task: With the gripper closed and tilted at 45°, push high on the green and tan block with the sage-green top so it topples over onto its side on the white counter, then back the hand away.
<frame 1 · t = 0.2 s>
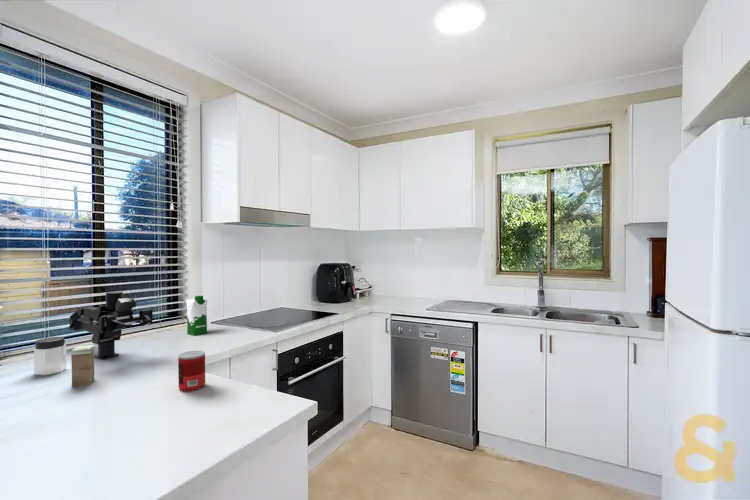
hand: (138, 323, 143), 16 cm above the worktop, tool horizontal, fingers open, 9 cm apart
milk carton: (197, 334, 196), on the worktop
canned food: (192, 387, 122), on the worktop
jar: (50, 372, 137), on the worktop
green and tan block: (83, 383, 126), on the worktop
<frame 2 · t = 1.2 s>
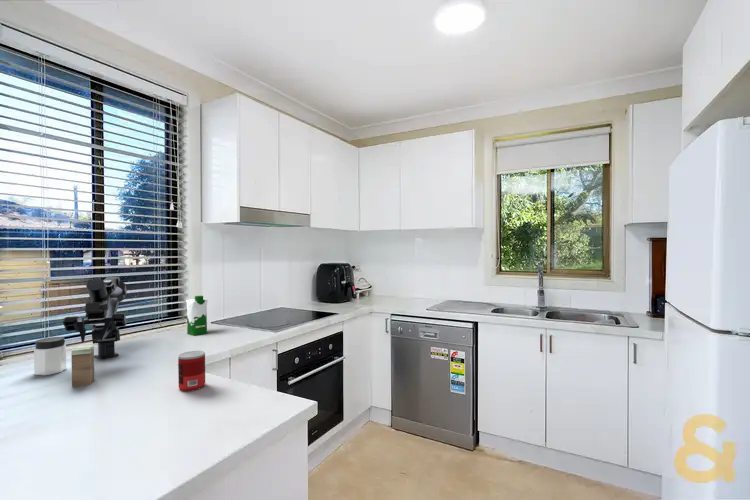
hand: (92, 341, 136), 12 cm above the worktop, tool tilted 45°, fingers open, 5 cm apart
nothing on the worktop moved.
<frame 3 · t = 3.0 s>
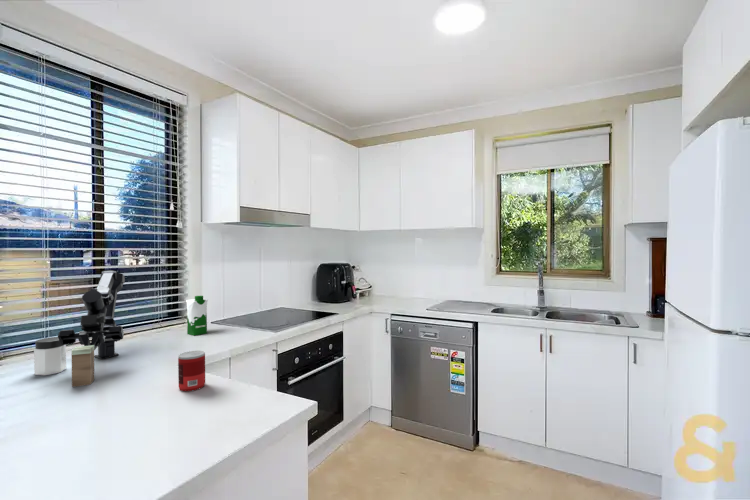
hand: (87, 355, 131), 8 cm above the worktop, tool tilted 45°, fingers closed
nothing on the worktop moved.
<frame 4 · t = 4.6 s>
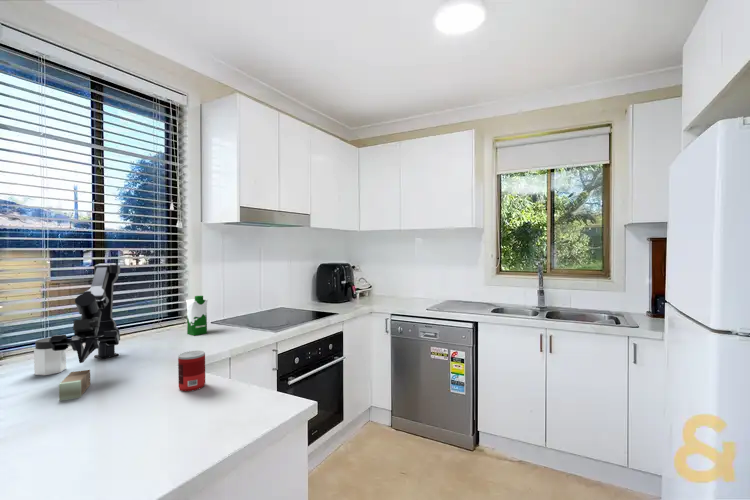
hand: (80, 362, 124), 8 cm above the worktop, tool tilted 45°, fingers closed
green and tan block: (80, 378, 124), point 2 cm above the worktop, tilted 90°
everything else where it was.
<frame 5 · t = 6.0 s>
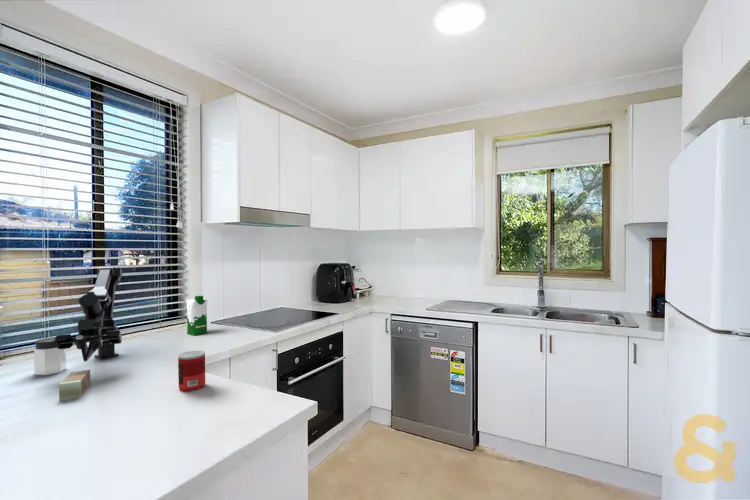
hand: (85, 360, 128), 7 cm above the worktop, tool tilted 45°, fingers closed
nothing on the worktop moved.
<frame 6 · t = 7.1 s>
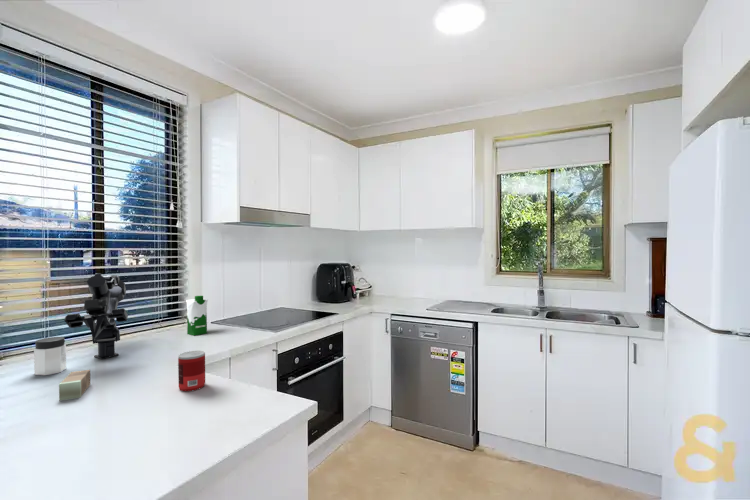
hand: (94, 337, 137), 13 cm above the worktop, tool tilted 40°, fingers closed
nothing on the worktop moved.
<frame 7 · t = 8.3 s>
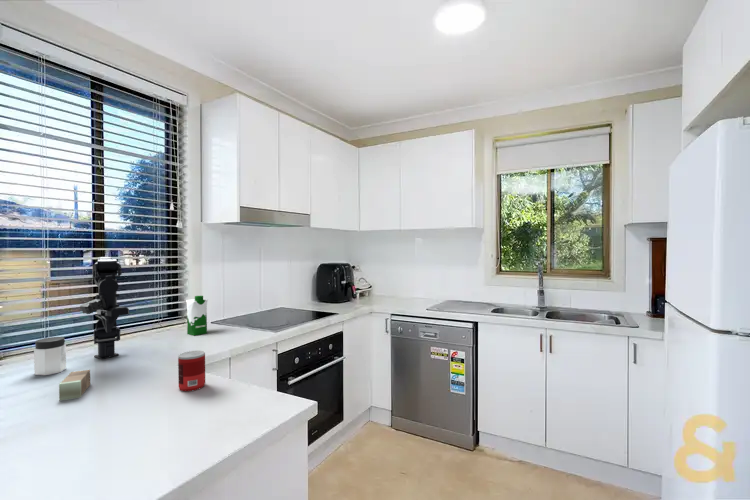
hand: (108, 332, 144), 13 cm above the worktop, tool pointing down, fingers closed
nothing on the worktop moved.
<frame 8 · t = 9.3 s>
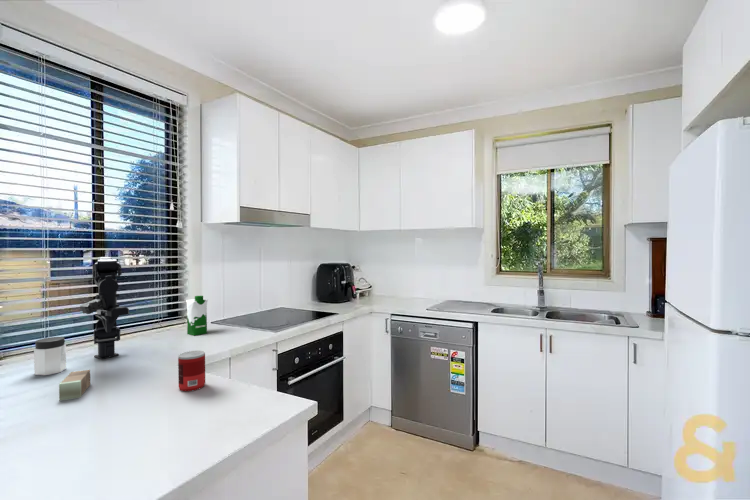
hand: (108, 332, 144), 13 cm above the worktop, tool pointing down, fingers closed
nothing on the worktop moved.
at the end: green and tan block tilted 90°; green and tan block inside the target area (1.0 cm from its centre), point 2.4 cm above the worktop; the gripper is holding nothing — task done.
